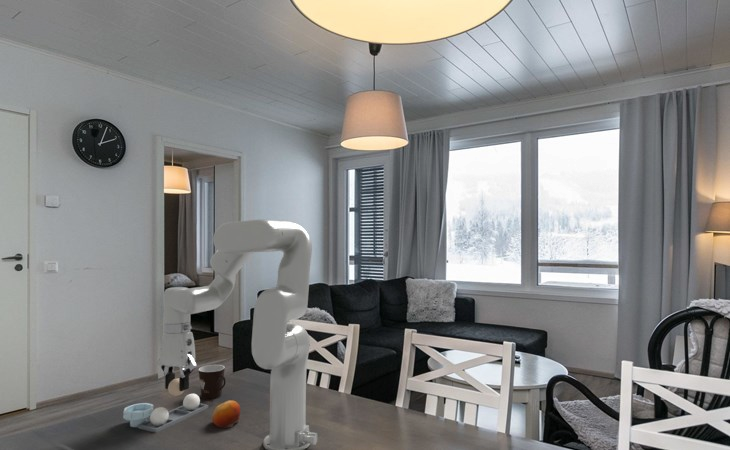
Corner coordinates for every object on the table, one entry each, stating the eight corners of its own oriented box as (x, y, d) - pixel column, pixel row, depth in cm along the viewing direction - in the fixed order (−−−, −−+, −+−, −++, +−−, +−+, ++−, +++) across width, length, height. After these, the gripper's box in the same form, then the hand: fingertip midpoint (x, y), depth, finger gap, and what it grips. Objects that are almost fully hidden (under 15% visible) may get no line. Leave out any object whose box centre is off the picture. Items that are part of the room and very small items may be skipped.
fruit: (238, 427, 128) (225, 401, 129) (216, 439, 130) (203, 414, 131) (251, 416, 136) (238, 392, 137) (230, 428, 137) (218, 404, 139)
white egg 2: (203, 408, 145) (203, 392, 145) (191, 413, 140) (191, 397, 140) (191, 406, 147) (191, 390, 147) (179, 411, 142) (179, 395, 142)
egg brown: (189, 393, 139) (189, 377, 139) (176, 398, 134) (176, 381, 134) (177, 391, 141) (177, 375, 141) (164, 396, 136) (164, 380, 136)
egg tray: (208, 409, 145) (208, 404, 145) (156, 434, 127) (156, 429, 127) (191, 405, 148) (191, 401, 148) (137, 430, 129) (137, 425, 129)
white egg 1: (172, 424, 132) (172, 406, 133) (157, 428, 128) (158, 409, 129) (160, 422, 135) (161, 404, 136) (145, 426, 130) (146, 408, 131)
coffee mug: (196, 395, 158) (197, 366, 158) (222, 392, 162) (223, 363, 162) (199, 406, 148) (200, 375, 148) (227, 402, 151) (227, 372, 152)
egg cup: (159, 422, 134) (159, 405, 135) (136, 433, 127) (136, 414, 127) (140, 418, 138) (140, 401, 138) (116, 428, 130) (117, 410, 131)
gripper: (207, 327, 138) (207, 388, 138) (166, 324, 145) (166, 382, 144) (189, 332, 131) (189, 396, 131) (146, 328, 138) (146, 389, 137)
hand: (177, 388), depth 137 cm, fingers closed on egg brown, 4 cm apart
